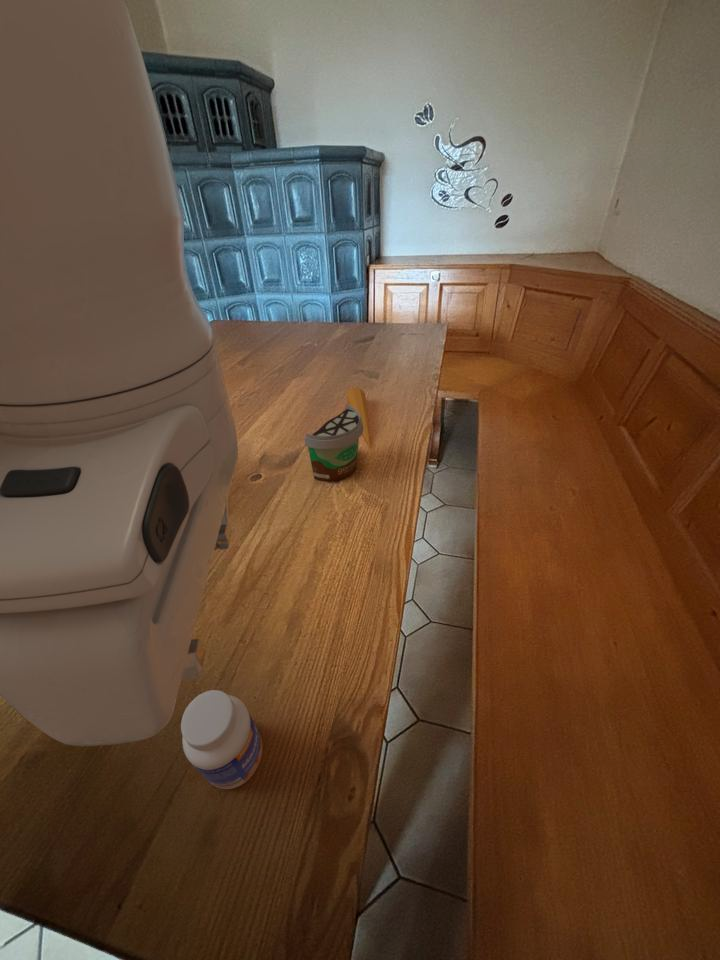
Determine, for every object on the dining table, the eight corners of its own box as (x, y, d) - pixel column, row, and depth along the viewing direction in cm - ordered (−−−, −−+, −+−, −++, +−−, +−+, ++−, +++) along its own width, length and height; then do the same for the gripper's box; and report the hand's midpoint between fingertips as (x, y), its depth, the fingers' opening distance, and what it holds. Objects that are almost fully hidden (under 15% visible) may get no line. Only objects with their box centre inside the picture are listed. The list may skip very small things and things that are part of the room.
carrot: (349, 403, 90) (341, 388, 87) (367, 396, 89) (360, 380, 86) (364, 461, 76) (355, 445, 73) (385, 452, 75) (377, 436, 72)
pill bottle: (262, 783, 35) (240, 750, 28) (200, 796, 34) (164, 764, 28) (264, 717, 39) (245, 675, 32) (208, 727, 38) (178, 686, 32)
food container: (337, 496, 64) (335, 447, 58) (308, 483, 67) (303, 435, 60) (375, 459, 72) (377, 412, 66) (348, 448, 75) (347, 402, 68)
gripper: (135, 336, 25) (195, 495, 33) (-177, 643, 9) (90, 790, 18) (236, 333, 25) (268, 491, 34) (106, 620, 9) (229, 774, 18)
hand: (206, 596), depth 26 cm, fingers open, 8 cm apart
